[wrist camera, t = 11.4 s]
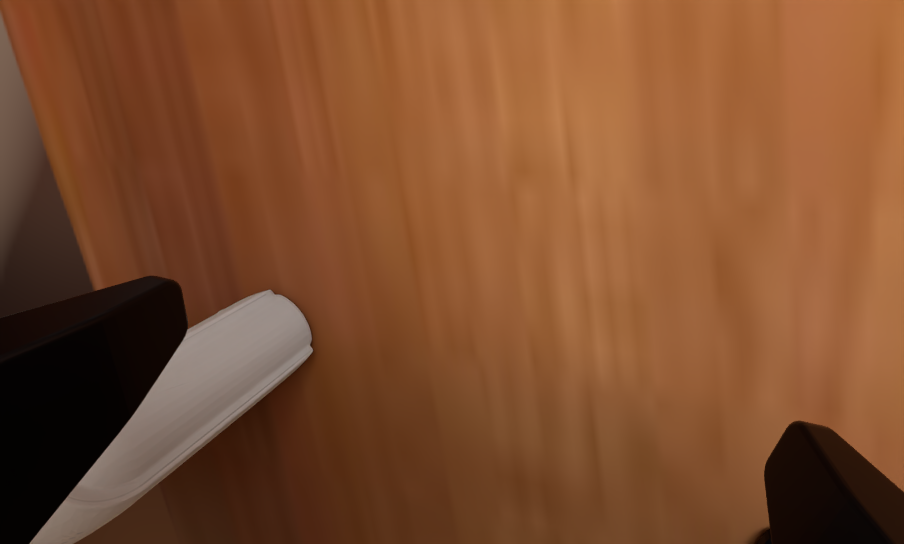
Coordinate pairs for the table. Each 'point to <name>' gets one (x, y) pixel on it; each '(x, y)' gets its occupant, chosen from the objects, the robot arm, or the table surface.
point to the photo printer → (188, 407)
